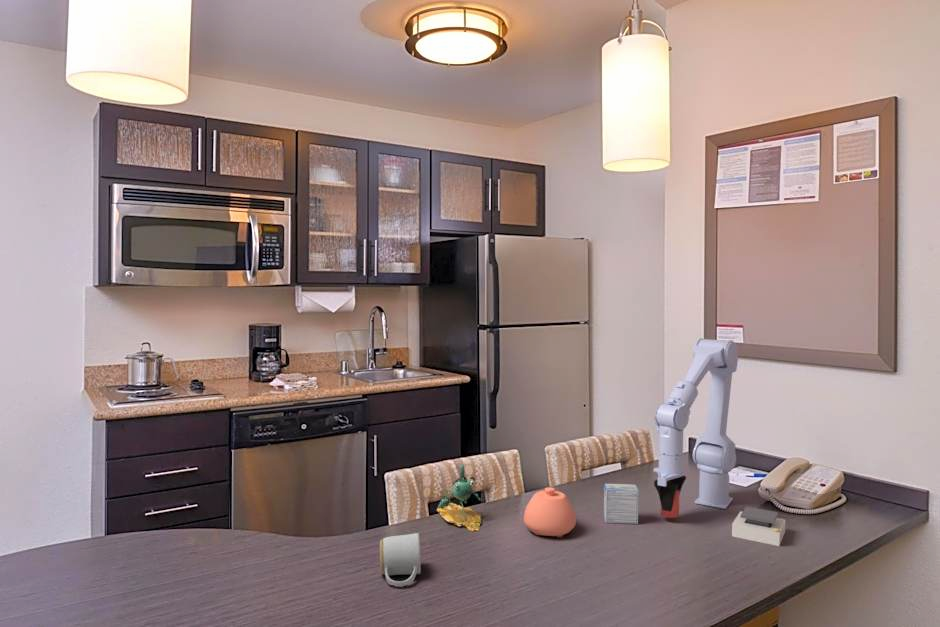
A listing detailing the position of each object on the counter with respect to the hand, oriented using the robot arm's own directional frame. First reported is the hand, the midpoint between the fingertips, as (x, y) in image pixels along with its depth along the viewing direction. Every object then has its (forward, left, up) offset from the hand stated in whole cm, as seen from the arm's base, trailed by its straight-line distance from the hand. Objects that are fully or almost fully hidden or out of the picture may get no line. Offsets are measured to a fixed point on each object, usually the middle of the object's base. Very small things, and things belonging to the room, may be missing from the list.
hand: (669, 507), depth 158 cm
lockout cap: (0, 0, -2) cm, 2 cm away
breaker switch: (-3, +20, -2) cm, 20 cm away
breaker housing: (-3, +20, -3) cm, 20 cm away
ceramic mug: (+61, -36, -4) cm, 70 cm away
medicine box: (+7, -10, -4) cm, 13 cm away
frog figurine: (+28, -44, -4) cm, 52 cm away
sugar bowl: (+22, -22, -4) cm, 31 cm away
